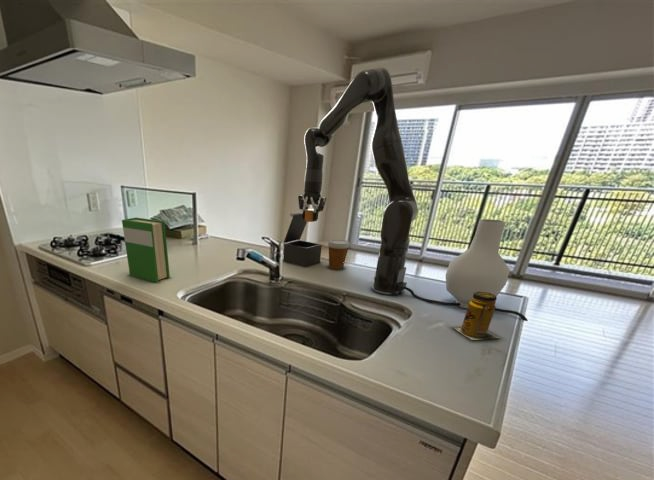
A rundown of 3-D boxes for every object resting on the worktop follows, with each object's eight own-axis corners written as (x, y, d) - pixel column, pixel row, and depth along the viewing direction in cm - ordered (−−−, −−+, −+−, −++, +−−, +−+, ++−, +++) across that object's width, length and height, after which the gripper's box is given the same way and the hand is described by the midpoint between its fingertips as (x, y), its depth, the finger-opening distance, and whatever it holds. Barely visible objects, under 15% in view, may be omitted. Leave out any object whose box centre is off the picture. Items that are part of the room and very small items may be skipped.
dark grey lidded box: (320, 262, 164) (321, 244, 160) (305, 267, 157) (306, 248, 154) (298, 256, 173) (299, 239, 170) (283, 261, 167) (284, 243, 163)
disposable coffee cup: (321, 266, 158) (323, 240, 153) (337, 263, 162) (340, 238, 156) (334, 271, 150) (338, 245, 145) (351, 268, 154) (354, 242, 149)
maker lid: (310, 212, 160) (303, 207, 162) (294, 215, 153) (287, 210, 156) (300, 239, 169) (292, 234, 172) (284, 243, 163) (277, 237, 165)
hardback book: (169, 278, 146) (164, 221, 135) (156, 282, 140) (150, 223, 130) (142, 271, 155) (136, 217, 145) (129, 275, 150) (121, 219, 140)
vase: (498, 319, 105) (531, 227, 93) (437, 308, 112) (461, 223, 100) (493, 301, 117) (522, 219, 105) (439, 293, 125) (460, 215, 113)
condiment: (453, 328, 99) (464, 290, 94) (480, 327, 100) (492, 289, 95) (471, 340, 93) (484, 300, 88) (500, 338, 93) (514, 298, 88)
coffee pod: (318, 221, 154) (319, 209, 152) (310, 222, 150) (311, 210, 148) (308, 219, 157) (309, 208, 155) (301, 220, 154) (302, 209, 152)
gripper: (295, 179, 149) (292, 219, 157) (322, 181, 139) (317, 223, 147) (305, 179, 154) (302, 217, 161) (332, 180, 144) (327, 221, 151)
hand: (309, 220), depth 154 cm, fingers closed on coffee pod, 5 cm apart
